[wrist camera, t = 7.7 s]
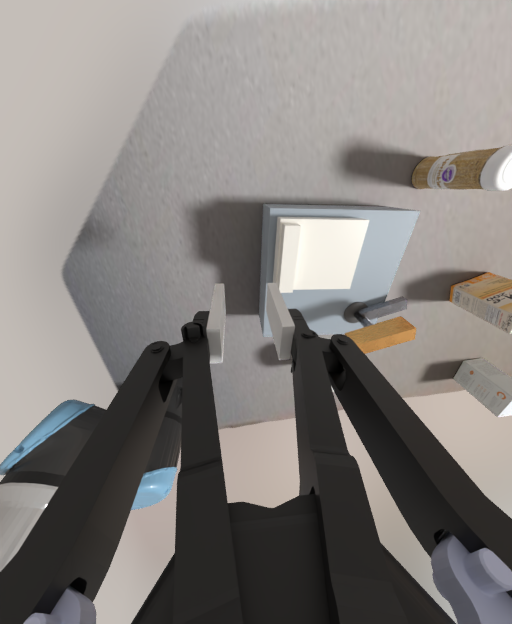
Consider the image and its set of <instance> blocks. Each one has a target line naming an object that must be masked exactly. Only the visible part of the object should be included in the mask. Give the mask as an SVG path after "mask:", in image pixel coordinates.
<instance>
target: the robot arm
mask: <svg viewBox="0 0 512 624" xmlns="http://www.w3.org/2000/svg"><path fill="white" fill-rule="evenodd" d="M266 312H267V316H268V320H269V324H270V327H271V331H272V335H273V339H274V343H275V347H276V351H277V354H278V358H279V360H290V357H291V355H292V357H293V361H292V367H291V373H292V372H293V387H294V401H295V416H296V430H297V444H298V458H299V474H300V491H299V496H297V497H296V498H293V499H291V500H289V501H287V502H285V503H283V504H281V505H279V506H277V507H275V508H267V507H263V506H258V505H255V504H250V503H246V502H236V503H227V496H226V489H225V488H226V487H225V481H224V472H223V466H222V465H223V464H222V457H221V449H220V442H219V434H218V426H217V418H216V410H215V403H214V395H213V387H212V379H211V372H210V364H209V362H210V363H222V362H223V346H224V331H225V316H226V305H225V288H224V284H215V287H214V292H213V298H212V303H211V308H210V311H199V312H198V313H196V314H195V316H194V319H193V322H189V323H187V324H185V325H184V326H182V328H181V332H182V337H183V342H181V343H179V344H176V345H172V346H169V344H168V343H167V342H164V341H158V342H154V343H151V344H150V345H148V346H147V347H146V348H145V349H144V351H143V353H142V354H141V356H140V357H139V359H138V361H137V362H136V364H135V365H134V367H133V369H132V370H131V372H130V373H129V375H128V377H127V378H126V380H125V381H124V383H123V385H122V386H121V388H120V389H119V391H118V393H117V394H116V396H115V397H114V399H113V401H112V402H111V404H110V405H109V407H108V409H107V410H105V409H102V408H100V407H97V406H95V405H94V404H87V403H84V402H81V401H77V400H68V401H65V402H63V403H61V404H60V405H59V406H57V407H56V408H55V409H54V410H53V411H52V412H51V413H50V414H49V415H48V416H47V417H46V418H45V419H43V420H42V421H41V423H39V424H38V425H37V426H36V427H35V428H34V429H33V430H32V431H31V432H30V433H29V434H28V436H26V437H25V439H24V440H23V441H22V442H21V443H20V444H19V445H18V446H17V447H16V448H15V450H13V452H11V453H10V454H9V455H8V456H7V457H6V459H5V460H4V461H3V462H2V463H1V464H0V475H5V474H6V476H5V477H4V478H3V479H2V480H1V482H0V624H96V610H95V606H94V604H93V603H92V602H93V600H94V599H95V597H96V595H97V593H98V591H99V589H100V586H101V584H102V582H103V580H104V578H105V576H106V573H107V572H108V569H109V567H110V564H111V562H112V559H113V557H114V554H115V552H116V549H117V547H118V544H119V541H120V539H121V536H122V533H123V530H124V527H125V525H126V522H127V519H128V516H129V513H130V511H131V510H133V509H140V508H144V507H148V506H151V505H153V504H156V503H158V502H160V501H161V500H163V499H164V498H165V497H166V496H167V495H168V494H169V492H170V490H171V488H172V484H173V480H174V477H175V473H176V471H177V463H178V458H179V453H180V448H181V469H180V472H179V474H178V480H177V504H176V505H177V506H176V537H175V538H176V539H175V554H174V555H173V557H172V558H171V560H170V561H169V563H168V565H167V566H166V568H165V569H164V571H163V573H162V574H161V576H160V578H159V579H158V581H157V582H156V584H155V586H154V587H153V589H152V591H151V592H150V594H149V595H148V597H147V599H146V600H145V602H144V604H143V605H142V607H141V608H140V610H139V612H138V613H137V615H136V617H135V618H134V620H133V621H132V623H131V624H456V623H455V622H454V621H453V620H452V619H451V618H450V617H449V616H448V615H447V613H446V612H445V611H444V610H443V609H442V608H441V607H440V606H439V605H438V604H437V603H436V602H435V601H434V599H433V598H432V597H431V596H430V595H429V594H428V593H427V592H426V591H425V590H424V589H423V588H422V587H421V586H420V584H419V583H418V582H417V581H416V580H415V579H414V578H413V577H412V576H411V575H410V574H409V573H408V572H407V571H406V569H404V567H403V566H402V565H401V564H400V563H399V562H398V561H397V560H396V559H395V558H394V557H393V556H392V554H391V553H390V552H389V551H388V550H387V549H386V548H385V547H384V546H383V545H382V544H381V543H380V540H379V537H378V533H377V530H376V526H375V522H374V519H373V515H372V512H371V508H370V505H369V501H368V498H367V494H366V491H365V487H364V484H363V480H362V477H361V473H360V469H359V467H358V464H357V461H356V460H355V458H354V457H353V456H351V455H350V454H349V452H348V450H347V446H346V442H345V438H344V434H343V431H342V427H341V423H340V419H339V415H338V411H337V407H336V403H335V400H334V396H333V392H332V388H333V390H334V392H335V394H336V395H337V397H338V399H339V401H340V403H341V405H342V406H343V408H344V410H345V412H346V413H347V415H348V417H349V419H350V421H351V423H352V425H353V426H354V428H355V430H356V432H357V434H358V435H359V437H360V439H361V441H362V443H363V445H364V446H365V448H366V450H367V452H368V453H369V455H370V457H371V459H372V461H373V463H374V465H375V466H376V468H377V470H378V472H379V474H380V476H381V477H382V479H383V481H384V483H385V485H386V487H387V488H388V490H389V492H390V494H391V496H392V498H393V499H394V501H395V503H396V505H397V506H398V508H399V510H400V512H401V514H402V515H403V517H404V519H405V520H406V522H407V524H408V526H409V527H410V529H411V530H412V532H413V533H414V535H415V536H416V538H417V539H418V541H419V542H420V544H421V545H422V547H423V548H424V550H425V551H426V552H427V553H428V555H429V556H430V557H431V565H432V569H433V580H434V583H435V585H436V587H437V590H438V591H439V592H440V594H441V595H442V596H443V597H444V598H445V599H446V600H448V601H449V603H450V605H451V606H452V609H453V611H454V614H455V616H456V618H457V622H458V624H512V519H511V518H510V517H509V516H508V515H507V514H505V513H504V512H503V511H502V510H501V509H500V508H499V507H497V506H496V505H495V504H494V503H493V502H491V501H490V500H489V499H488V498H487V497H486V496H485V495H484V494H483V493H482V492H481V490H480V489H479V488H478V487H477V486H476V484H475V483H474V482H473V481H472V480H471V479H470V478H469V476H468V475H467V474H466V473H465V471H464V470H463V469H462V468H461V467H460V466H459V465H458V463H457V462H456V461H455V460H454V459H453V457H452V456H451V455H450V454H449V453H448V452H447V450H446V449H445V448H444V447H443V446H442V445H441V443H440V442H439V441H438V440H437V439H436V437H435V436H434V435H433V434H432V433H431V432H430V430H429V429H428V428H427V427H426V426H425V425H424V423H423V422H422V421H421V420H420V419H419V417H418V416H417V415H416V414H415V413H414V412H413V410H412V409H411V408H410V407H409V406H408V405H407V403H406V402H405V401H404V400H403V399H402V397H401V396H400V395H399V394H398V393H397V392H396V390H395V389H394V388H393V387H392V386H391V385H390V383H389V382H388V381H387V380H386V379H385V378H384V376H383V375H382V374H381V373H380V372H379V370H378V369H377V368H376V367H375V366H374V365H373V363H372V362H371V361H370V360H369V359H368V358H367V356H366V355H365V354H364V353H363V352H362V350H361V349H360V348H359V347H358V346H357V345H356V343H355V342H354V341H353V340H352V339H351V338H350V337H348V336H346V335H342V334H335V335H333V336H332V337H331V340H330V339H325V338H320V337H318V335H317V333H316V332H314V331H313V330H310V329H309V327H308V325H307V323H306V321H305V320H304V317H303V316H302V314H301V312H300V311H299V310H297V309H287V306H286V304H285V302H284V300H283V297H282V295H281V293H280V290H279V288H278V286H277V284H276V283H268V284H267V301H266ZM182 377H183V378H182ZM331 386H332V388H331Z"/></svg>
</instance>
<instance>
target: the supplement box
mask: <svg viewBox="0 0 512 624" xmlns="http://www.w3.org/2000/svg"><path fill="white" fill-rule="evenodd" d="M449 301H450V302H452V303H454V304H455V305H457V306H459V307H461V308H463V309H465V310H466V311H468V312H470V313H472V314H474V315H476V316H477V317H479V318H481V319H483V320H485V321H487V322H488V323H490V324H492V325H494V326H496V327H498V328H499V329H501V330H503V331H505V332H507V333H509V334H511V333H512V280H510V279H507V278H504V277H501V276H498V275H496V274H493V273H490V272H488V273H485V274H483V275H480V276H478V277H475V278H472V279H470V280H467V281H464V282H461V283H458V284H455V285H452V286H451V291H450V300H449Z"/></svg>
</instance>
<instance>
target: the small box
mask: <svg viewBox="0 0 512 624" xmlns="http://www.w3.org/2000/svg"><path fill="white" fill-rule="evenodd" d="M453 379H454V380H455V381H456V382H457V383H459V384H460V385H461V386H462V387H463V388H464V389H465V390H467V391H468V392H469V393H470V394H471V395H473V396H474V397H475V398H476V399H477V400H478V401H479V402H481V403H482V404H483V405H484V406H485V407H486V408H487V409H489V410H490V411H491V412H492V413H493V414H494V415H495V416H497V417H503V416H510V415H512V377H511V376H509V375H508V374H506V373H505V372H503V371H502V370H500V369H499V368H497V367H496V366H494V365H493V364H491V363H490V362H488V361H487V360H485V359H484V358H479V359H472V360H465V361H463V363H462V364H461V366H460V368H459V370H458V371H457V373H456V375H455V376H454V378H453Z"/></svg>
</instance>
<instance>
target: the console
mask: <svg viewBox="0 0 512 624" xmlns="http://www.w3.org/2000/svg"><path fill="white" fill-rule="evenodd" d="M419 213H420V211H416V210H408V209H401V208H393V207H383V206H338V205H292V204H263V222H262V248H261V274H260V300H259V318H260V323H261V328H262V333H263V337H273V335H272V331H271V327H270V324H269V320H268V316H267V312H266V301H267V284H268V283H273V272H274V258H275V244H276V231H277V217H330V218H363V219H367V220H369V224H368V227H367V231H366V234H365V238H364V241H363V245H362V248H361V252H360V255H359V259H358V262H357V266H356V269H355V273H354V276H353V280H352V283H351V287H350V289H312V290H293V293H281V295H282V297H283V300H284V302H285V304H286V306H287V309H297V310H299V311H300V312H301V314H302V316H303V317H304V320H305V321H306V323H307V325H308V327H309V329H310V330H313V331H314V332H316V333H317V335H328V334H345V333H347V332H350V331H354V330H357V329H360V328H364V327H363V326H362V325H361V324H360V323H359V321H358V320H357V319H356V318H355V317H354V313H355V312H357V311H358V310H360V309H363V308H367V307H370V306H373V305H376V304H380V303H383V302H385V299H386V297H387V294H388V292H389V289H390V287H391V284H392V282H393V279H394V277H395V274H396V272H397V269H398V266H399V264H400V261H401V259H402V256H403V254H404V251H405V249H406V246H407V244H408V241H409V239H410V236H411V234H412V231H413V228H414V226H415V223H416V221H417V218H418V216H419ZM377 320H378V318H375V319H372V320H369V321H370V322H371V323H373V324H376V322H377Z"/></svg>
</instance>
